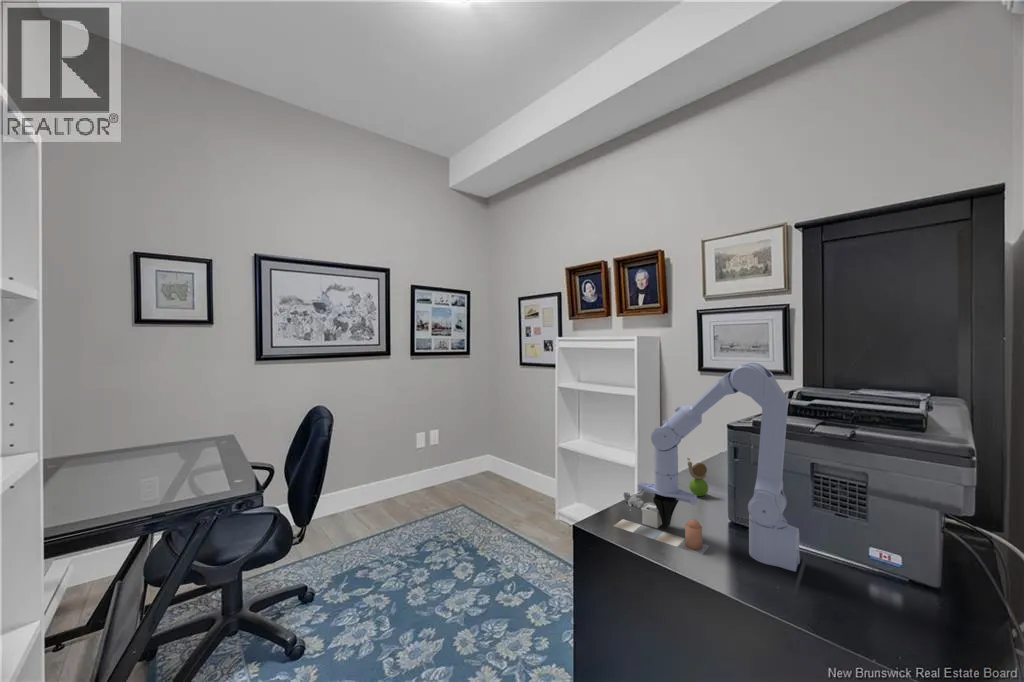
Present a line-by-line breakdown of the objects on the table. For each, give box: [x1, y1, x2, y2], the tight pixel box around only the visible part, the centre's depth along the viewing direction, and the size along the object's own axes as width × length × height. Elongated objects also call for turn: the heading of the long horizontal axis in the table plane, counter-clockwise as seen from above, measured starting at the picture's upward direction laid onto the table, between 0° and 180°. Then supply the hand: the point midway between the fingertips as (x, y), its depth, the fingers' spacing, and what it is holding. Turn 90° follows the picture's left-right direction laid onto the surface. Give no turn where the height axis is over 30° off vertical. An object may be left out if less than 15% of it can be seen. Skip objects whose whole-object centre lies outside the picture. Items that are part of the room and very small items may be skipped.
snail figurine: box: [687, 457, 709, 497], centre depth 130 cm, size 5×6×12 cm
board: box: [613, 518, 710, 556], centre depth 104 cm, size 22×12×1 cm, turn 49°
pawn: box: [684, 518, 703, 550], centre depth 96 cm, size 4×4×6 cm
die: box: [641, 504, 663, 529], centre depth 108 cm, size 4×4×4 cm
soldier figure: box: [623, 491, 656, 512], centre depth 118 cm, size 8×5×12 cm
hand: (666, 524), depth 106 cm, fingers closed
